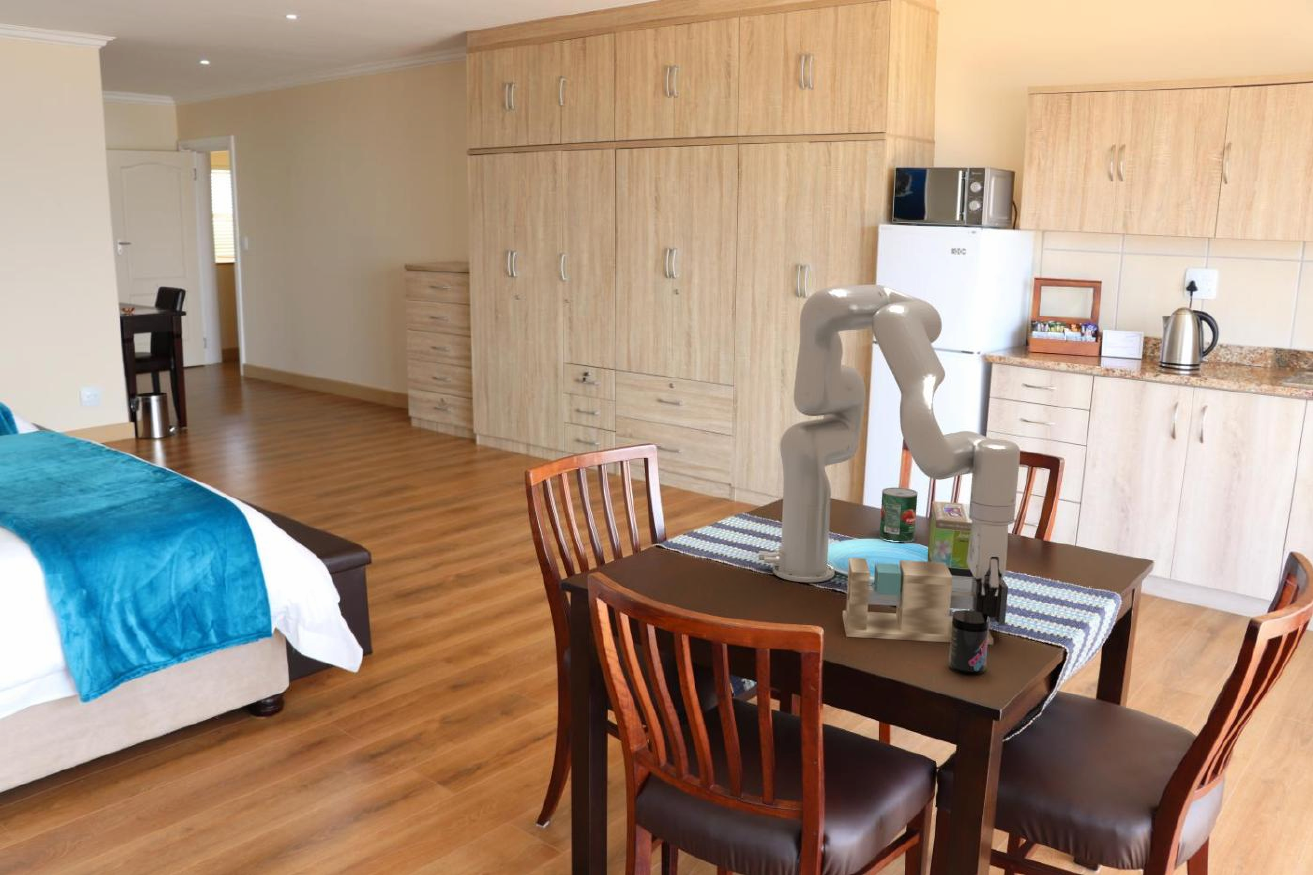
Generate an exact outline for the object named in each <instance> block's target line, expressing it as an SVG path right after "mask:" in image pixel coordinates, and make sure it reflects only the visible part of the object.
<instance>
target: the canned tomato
mask: <svg viewBox="0 0 1313 875" xmlns="http://www.w3.org/2000/svg"><path fill="white" fill-rule="evenodd" d="M881 492H882V493H881V494H882V495H881V507H880V509H881V510H880V521H879V522H880V524H879V535H878V536H879V539H880V540H882V539H886V540H893V541H899V542H908V543H911V542H912V543H913V541H915V539H916V538H915V535H916V534H915V533H916V521H917V520H916V519H917V505H918V491H916V490H914V489H911V488H906V487H895V486H894V487H885V488H883V489H882V491H881ZM908 543H907V544H908Z"/></svg>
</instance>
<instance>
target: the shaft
mask: <svg viewBox="0 0 1313 875" xmlns="http://www.w3.org/2000/svg"><path fill="white" fill-rule="evenodd" d="M985 577H989V576H985ZM998 583H999V586H998V600H997V612H996V617H989V618H990V623H997V625H998V626H1002V627H1004V626H1005V625H1006V615H1007V606H1008V605H1007V603H1008V594H1009V587H1008V585H1007V584H1006V582H1005V580H1004V578H1003V579H1002V580H999V579H998ZM986 584H989V582H988V581H985V585H986ZM980 590H981V578H980V579H976V578H975V577H974V576H973V575H972V588H971V592H965V591H951V603H950V609H957V610H958V609H959V610H971V611H977V605H978V594H980ZM901 598H902V588H900V595H884V594H876V590H875V586H869V596H868V605H878V606H879V605H880V606H896V607H897V606H901Z"/></svg>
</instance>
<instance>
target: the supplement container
mask: <svg viewBox="0 0 1313 875" xmlns="http://www.w3.org/2000/svg"><path fill="white" fill-rule="evenodd" d="M990 623H991V622H990V618H989V616H987V615H986V614H984V613H981V612H977V611H971V610H970V609H959V610H956V611H954V612H953V613H952V631H951V642H949V643H950V644H949V645H950V646H949V659H948V666H949V667H950V669H951V670H952V671H953V672H955V673H959V674H961V675H964V676H965V675H966V676H977V675H980V674H982V673H984V671H985V670H986V666H987V654H988V645H989V644H988V633H989V632H990V630H989V629H990Z"/></svg>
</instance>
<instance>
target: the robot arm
mask: <svg viewBox="0 0 1313 875" xmlns="http://www.w3.org/2000/svg"><path fill="white" fill-rule="evenodd" d="M942 326H943V325H942V318H941V315H940V313H939V312H938V310H937V309H936V307H934V306H933V305H932V304H931V303H929V302H927V301H926V300H923V299H920V298H917V297H915V296H912V295H910V294H907V293H903V292H901V291H898V290H896V289H892V288H890V287H888V286H884V285H880V284H859V285H858V284H857V285H856V284H854V285H853V284H848V285H837V286H831V287H826V288H822V289H819V290H818V291H816V292H814V293H813V294H811V296H809V297H808V298H807V299H806V301H805V302H804V304H803V306H802V308H801V311H800V317H799V348H798V355H797V360H796V361H797V363H796V369H795V371H796V372H795V380H794V389H793V402H794V406H795V408H796V410H797V411H798V412H799V413H800V414H803V415H805V416H808V417H819V416H823V417H822V418H820V419H818V418H817V419H811V420H807V421H801V422H798V423H795V424H794V425H792V426H791V425H790V427H788V428H787V429H786V430H785V431H784V433H783V435H782V437H781V439H780V443H779V444H780V446H779V447H780V456H781V462H782V463H781V465H782V472H783V487H782V488H783V489H782V491H783V493H782V498H783V499H782V514H781V515H782V520H781V541H780V542H781V544H780V545H781V546H779V547H778V548H779V550H777V549H776V550H775V549H774V550H773V551H768V550H759V551H758V561H764V562H763V564H772V573H773V574H774V575H775V576H777V577H779V578H781V579H783V580H786V581H790V582H796V583H799V582H800V583H819V582H826V581H829V580H831V579H832V578H833V577H834V576H835V570H834V569H835V568H834V569H831V567H830V566H828V565H827V563H828V557H829V538H830V519H831V518H830V516H831V499H832V498H831V496H832V494H831V492H832V491H831V489H832V487H831V483H830V480H829V477H828V475H827V472H826V468H825V467H829V466H831V465H835V464H839V463H843V462H844V463H845V462H846V461H849V460H850V459H852V457H854V456H855V454H856V453H857V450H858V448H859V445H860V442H861V433H862V427H863V420H864V413H865V405H866V398H867V397H866V395H867V393H866V391H867V390H866V385H865V381H864V379H863V376H862V375H861V373H860V372H859V371H858V370H857V369H856V368H854V367H852V366H851V365H845V364H842V360H843V353H844V352H843V350H844V349H843V348H844V347H843V343H842V338H841V337H840V334H839V332H844V331H858V330H870V329H871V330H872V331H871V332H872V333H873V337H874V339H875V341H876V343H877V345H878V347H879V349H880V351H881V353H882V355H883V357H884V359H885V361H886V364H887V365H888V368H889V369H890V371H891V373H892V375H893V378H894V381H895V382H896V384H897V387H898V389H899V391H900V395H901V396H900V403H899V424H900V431H901V434H902V438H903V441H904V442H905V444H906V446H907V449H908V452H909V453H910V455H911V457H912V459H913V461H914V462H915V465H916V466H917V467H918V469H919V471H921V472H922V473H923V475H925V476H927V477H928V478H930V479H931V480H939V481H940V480H942V481H943V480H947V479H951V478H954V477H958V476H963V475H970V474H971V475H972V476H971V484H970V485H971V488H970V498H969V504H970V509H969V519H971V520H972V524H971V531H970V538H969V546H968V554H967V564H968V567H969V569H970V570H971V572H972V574H973V576H974V577H975V578H976V579H980V578H981V590H980V594H978V605H977V612H981V613H984V614H986V615H987V616H989V617H996V612H997V600H998V586H999V583H998V579H999V580H1002V579H1003V580H1004V578H1005V575H1006V567H1007V556H1008V540H1009V539H1008V538H1009V536H1008V535H1009V525H1012V524H1014V522H1015V517H1016V516H1015V515H1016V504H1017V503H1016V502H1017V493H1018V480H1019V469H1020V461H1021V450H1020V447H1019V446H1018V444H1016V443H1015V442H1013V441H1010V440H1005V439H997V438H996V439H995V438H990V437H988V436H985V435H982V434H980V433H977V432H974V431H969V430H962V431H956V432H950V433H947V434H943V432H942V430H941V428H940V426H939V424H938V421H937V419H936V417H935V413H934V408H933V407H934V405H933V404H934V403H933V402H934V396H935V394H936V391H937V389H938V387H939V386H940V385H941V384H942V382H943V381H944V380H945V377H946V371H945V369H944V367H943V364H942V363H941V361H940V359H939V357H938V355H937V353H936V351H935V349H934V346H933V343H934V342H936V341H937V340H938V338H939V337H940V335H941V332H942ZM985 576H989V577H985ZM985 581H988V582H989V584H986V585H985Z"/></svg>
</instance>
